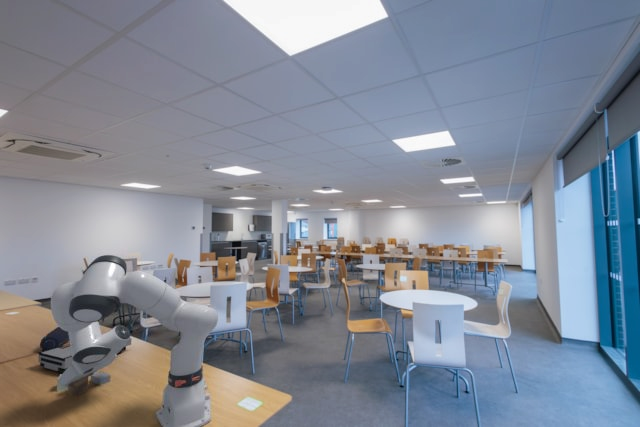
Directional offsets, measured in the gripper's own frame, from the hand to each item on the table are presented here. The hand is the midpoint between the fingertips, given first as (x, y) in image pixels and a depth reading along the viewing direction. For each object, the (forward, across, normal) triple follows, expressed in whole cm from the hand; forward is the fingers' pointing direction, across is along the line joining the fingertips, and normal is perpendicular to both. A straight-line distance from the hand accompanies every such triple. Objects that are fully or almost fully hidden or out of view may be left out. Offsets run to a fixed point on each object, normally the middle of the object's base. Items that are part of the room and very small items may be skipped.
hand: (78, 379), depth 118 cm
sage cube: (+10, -3, -3) cm, 11 cm away
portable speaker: (+49, -38, -41) cm, 75 cm away
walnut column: (+4, 0, +4) cm, 5 cm away
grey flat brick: (+4, -10, +4) cm, 11 cm away
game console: (+24, -27, -16) cm, 40 cm away
